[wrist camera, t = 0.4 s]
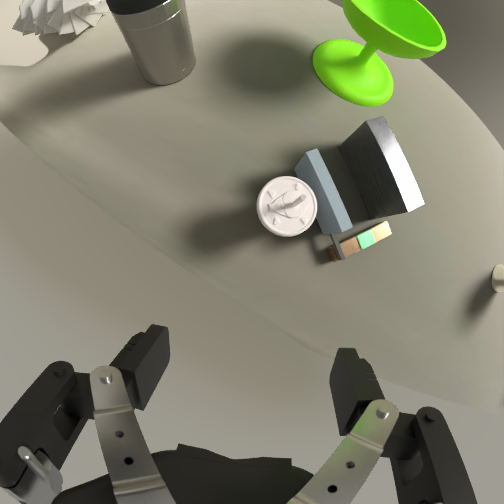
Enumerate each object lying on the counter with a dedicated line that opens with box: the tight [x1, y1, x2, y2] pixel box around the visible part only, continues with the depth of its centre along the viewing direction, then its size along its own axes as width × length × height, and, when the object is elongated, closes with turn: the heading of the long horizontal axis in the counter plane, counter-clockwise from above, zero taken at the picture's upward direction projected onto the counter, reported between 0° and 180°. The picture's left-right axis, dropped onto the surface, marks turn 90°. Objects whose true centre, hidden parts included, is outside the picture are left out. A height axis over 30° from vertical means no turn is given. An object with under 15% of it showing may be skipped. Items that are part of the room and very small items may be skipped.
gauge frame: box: [327, 116, 424, 262], centre depth 33 cm, size 15×12×10 cm
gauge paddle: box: [294, 149, 353, 260], centre depth 33 cm, size 14×2×7 cm, turn 24°
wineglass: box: [313, 0, 446, 106], centre depth 29 cm, size 16×16×18 cm
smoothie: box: [257, 176, 317, 237], centre depth 31 cm, size 6×6×14 cm
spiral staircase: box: [12, 0, 109, 36], centre depth 26 cm, size 18×18×25 cm
